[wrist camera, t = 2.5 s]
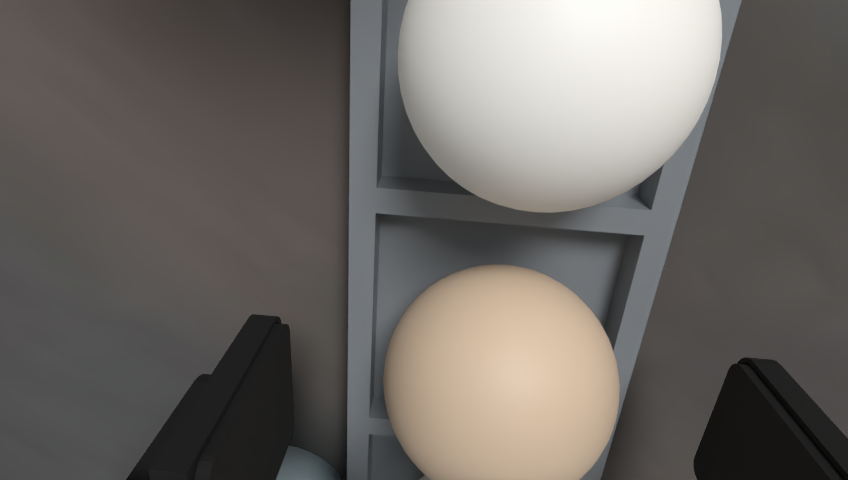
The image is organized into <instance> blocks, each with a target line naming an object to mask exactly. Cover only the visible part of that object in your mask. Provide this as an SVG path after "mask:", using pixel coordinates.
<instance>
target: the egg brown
mask: <svg viewBox="0 0 848 480" xmlns="http://www.w3.org/2000/svg"><path fill="white" fill-rule="evenodd" d="M383 383H384V397H385V403H386V408H387V413H388V416H389V419H390V422H391V425H392V428H393V430H394V433H395V435H396V437H397V438H398V440H399V442H400V444H401V446H402V447H403V449H404V451H405V453H406V454H407V455H408V456H409V458H410V459H411V460H412V462H413V463H414V464H415V465H416V466H417V467H418V469H419V470H421V471H422V472H423V473H424V474H425V475H426V476H427V477H428V478H429V479H431V480H580V479H581V478H582V477H583V476H584V475H585V474H586V473H587V472H588V471H589V470H590V469H591V468H592V467H593V465H594V464H595V463H596V461H597V460H598V459H599V457H600V455H601V454H602V452H603V450H604V448H605V447H606V445H607V443H608V441H609V439H610V437H611V434H612V431H613V428H614V425H615V422H616V418H617V413H618V408H619V393H620V383H619V375H618V368H617V362H616V358H615V355H614V352H613V349H612V346H611V343H610V340H609V338H608V336H607V334H606V332H605V330H604V329H603V327H602V325H601V323H600V322H599V320H598V319H597V317H596V316H595V315H594V313H593V312H592V311H591V309H590V308H589V307H588V306H587V305H586V304H585V303H584V302H583V301H582V300H581V299H580V298H579V297H578V296H577V295H576V294H575V293H574V292H572V291H571V290H570V289H568V288H567V287H566V286H565V285H563V284H561V283H560V282H558V281H556V280H554V279H553V278H551V277H549V276H547V275H545V274H542V273H540V272H537V271H535V270H531V269H527V268H524V267H519V266H512V265H498V264H492V265H481V266H476V267H471V268H467V269H464V270H461V271H458V272H455V273H452V274H450V275H448V276H446V277H444V278H442V279H440V280H439V281H437V282H436V283H434V284H432V285H431V286H430V287H428V288H427V289H426V290H425V291H424V292H423V293H421V294H420V295H419V296H418V297H417V298H416V299H415V300H414V302H413V303H412V304H411V305H410V306H409V307H408V308H407V310H406V311H405V313H404V314H403V316H402V317H401V319H400V321H399V322H398V324H397V326H396V328H395V330H394V332H393V335H392V337H391V340H390V344H389V347H388V350H387V354H386V358H385V366H384V376H383Z"/></svg>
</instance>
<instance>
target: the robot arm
mask: <svg viewBox="0 0 848 480" xmlns="http://www.w3.org/2000/svg"><path fill="white" fill-rule="evenodd" d="M293 428H294V411H293V390H292V369H291V349H290V330H289V325H287V324H281V320H280V318H279V317H277V316H266V315H254V314H253V315H251V316H250V317H249V318H248V320H247V321H246V323H245V324H244V326H243V327H242V329H241V330H240V332H239V333H238V335H237V336H236V338H235V339H234V341H233V342H232V344H231V345H230V347H229V348H228V350H227V351H226V353H225V355H224V356H223V358H222V359H221V361H220V362H219V364H218V365H217V367H216V368H215V370H214V371H213V373H212V374H211V375H209V374H202V375H200V376H199V377H198V378H197V379H196V380H195V381H194V382H193V384H192V385H191V387H190V388H189V390H188V391H187V393H186V394H185V395H184V397H183V398H182V400H181V401H180V403H179V404H178V406H177V407H176V408H175V410H174V411H173V413H172V414H171V416H170V417H169V419H168V420H167V421H166V423H165V424H164V426H163V427H162V429H161V430H160V432H159V433H158V434H157V436H156V437H155V439H154V440H153V442H152V443H151V445H150V446H149V447H148V449H147V450H146V452H145V453H144V455H143V456H142V458H141V459H140V460H139V462H138V463H137V465H136V466H135V468H134V469H133V471H132V472H131V473H130V475H129V476H128V478H127V479H126V480H276V478H277V475H278V473H279V470H280V467H281V465H282V462H283V459H284V457H285V454H286V451H287V449H288V446H289V443H290V441H291V438H292V434H293ZM694 471H695V475H696V478H697V480H848V438H847V437H846V436H845V435H844V434H843V433H842V432H841V431H840V430H839V429H838V427H837V426H836V425H835V424H834V423H833V422H832V421H831V420H830V419H829V418H828V416H827V415H826V414H825V413H824V412H823V411H822V410H821V409H820V408H819V407H818V405H817V404H816V403H815V402H814V401H813V400H812V399H811V398H810V397H809V396H808V394H807V393H806V392H805V391H804V390H803V389H802V388H801V387H800V386H799V385H798V383H797V382H796V381H795V380H794V379H793V378H792V377H791V376H790V375H789V374H788V372H787V371H786V370H785V369H784V368H783V367H782V366H781V365H780V364H779V363H778V362H777V361H774V360H768V359H757V358H742V359H741V360H740V361H739V362H738V363H737V364H733V365H732V366H731V367H730V368H729V370H728V373H727V376H726V378H725V381H724V383H723V386H722V388H721V391H720V393H719V396H718V399H717V401H716V404H715V406H714V409H713V411H712V414H711V417H710V419H709V422H708V424H707V427H706V429H705V432H704V435H703V437H702V440H701V442H700V445H699V447H698V450H697V452H696V455H695V458H694Z"/></svg>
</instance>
